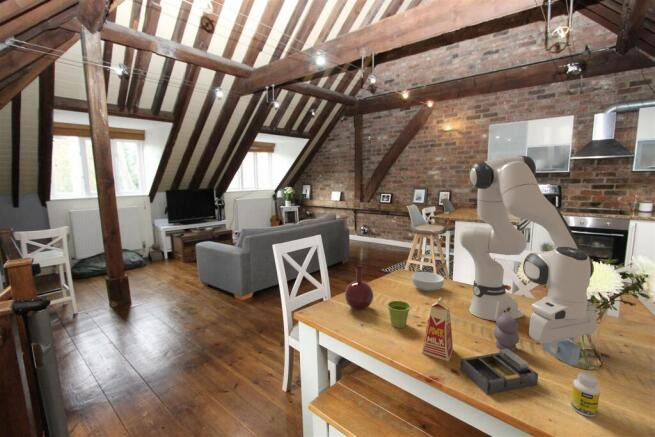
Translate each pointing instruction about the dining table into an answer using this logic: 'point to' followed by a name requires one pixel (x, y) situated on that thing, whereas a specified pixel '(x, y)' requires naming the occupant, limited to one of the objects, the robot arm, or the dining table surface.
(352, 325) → the dining table surface
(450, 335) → the milk carton
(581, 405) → the supplement bottle
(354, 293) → the round-bottom flask
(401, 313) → the plant pot
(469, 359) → the tray
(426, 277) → the cereal bowl
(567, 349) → the light blue block
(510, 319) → the purple lumpy figurine
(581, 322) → the robot arm
